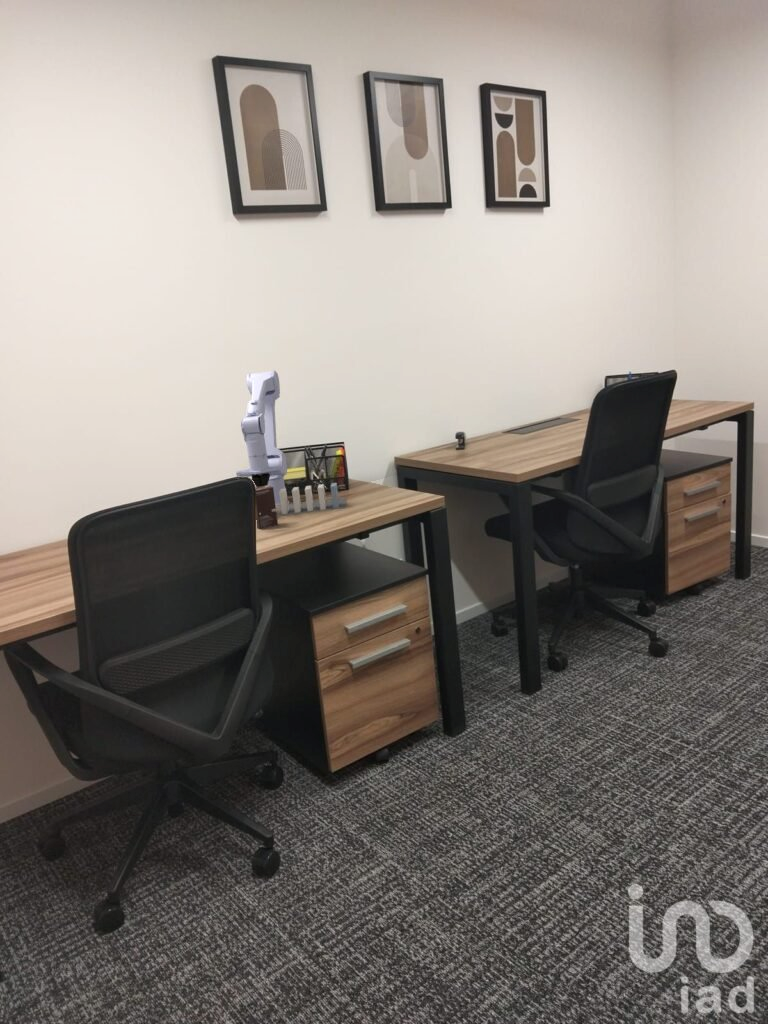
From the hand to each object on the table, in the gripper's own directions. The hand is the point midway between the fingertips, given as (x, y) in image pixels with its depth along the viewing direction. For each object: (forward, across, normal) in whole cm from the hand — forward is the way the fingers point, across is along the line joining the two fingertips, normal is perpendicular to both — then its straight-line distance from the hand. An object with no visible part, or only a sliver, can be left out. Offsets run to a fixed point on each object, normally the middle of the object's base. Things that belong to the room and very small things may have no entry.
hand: (264, 497), depth 230 cm
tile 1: (+5, +6, 0) cm, 8 cm away
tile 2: (+5, +10, 0) cm, 11 cm away
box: (+6, +2, -16) cm, 17 cm away
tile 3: (+5, +14, 0) cm, 15 cm away
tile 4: (+5, +18, 0) cm, 19 cm away
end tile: (+5, +22, 0) cm, 23 cm away
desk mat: (+6, +14, +4) cm, 15 cm away
